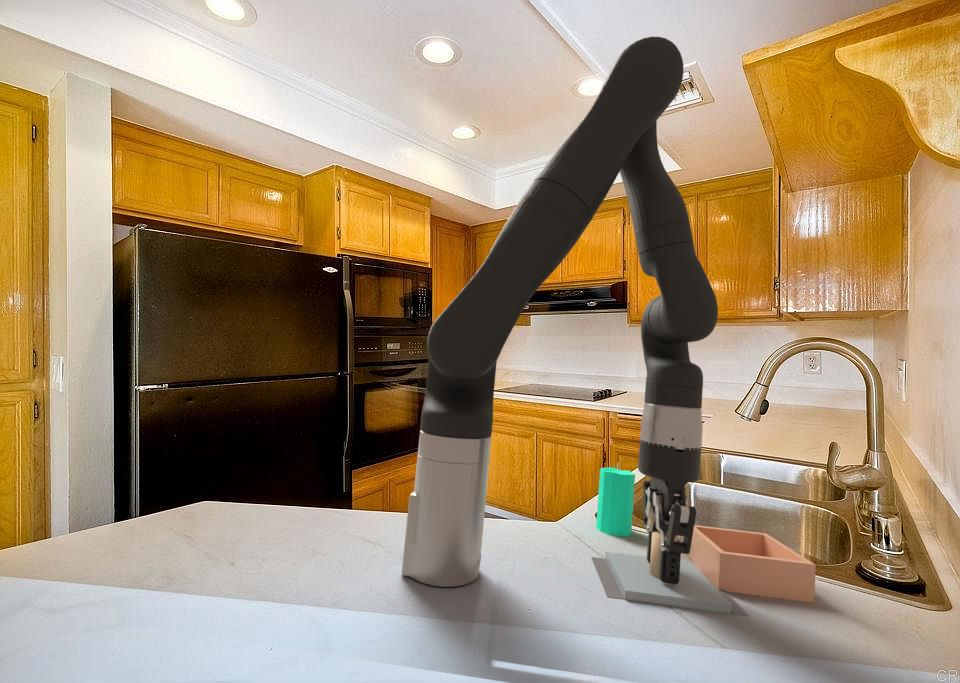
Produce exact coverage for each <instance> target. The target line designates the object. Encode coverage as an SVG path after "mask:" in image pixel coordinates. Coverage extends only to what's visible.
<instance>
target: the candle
mask: <svg viewBox="0 0 960 683" xmlns="http://www.w3.org/2000/svg"><path fill="white" fill-rule="evenodd" d="M616 466H617V468H616V467H614V466H613V467H610V466H609V467H601V468H600V471H599V483H598V497H597V512H596V522H595V523H596V525H595V528H596V529H597V530H598V531H599V532H601V533H604V534H605V535H606V534H607V535H610V536H615V537H628V536H631V535H632V529H633V527H632V526H633V512H634V499H635V497H634V496H635V486H636V485H635V484H636V483H635V482H636V481H635V480H636V474H635V473H633V472H632V471H631V470H621V469H619V462H617V465H616Z"/></svg>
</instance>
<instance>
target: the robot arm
mask: <svg viewBox="0 0 960 683" xmlns="http://www.w3.org/2000/svg"><path fill="white" fill-rule="evenodd" d="M683 78H684V61H683V57H682V53H681V51H680V50H679V48H678V47H677V45H676V44H675V43H674V42H673V41H671V40H669V39H667V38H666V37H662V36H648V37H644V38H641V39H638V40H635V42H633V43H631V44H629V45H628V46H627V47H626V48H625V49H623V50H622V51H621V53H620V54H619V55H618V57H617V58H616V59H615V61H614V63H613V65H612V66H611V68H610V71H609V72H608V74H607V76H606V78H605V80H604V81H603V83H602V85H601V87H600V91H599V94H598V95H597V97H596V99H595V100H594V102H593V104H592V105H591V107H590V109H589V110H588V112H587V113H586V114H585V116H584V117H583V119H582V120H581V121H580V122H579V124H578V125H577V126H576V127H575V128H574V130H573V131H572V132H571V133H570V134H569V135H568V137H567V138H566V139H565V140H564V141H563V142H562V143H561V145H560V146H559V147H558V148H557V150H556V151H555V153H553V155H552V156H551V157H550V159H549V160H548V161H547V162H546V164H545V165H544V166H543V168H542V169H541V171H539V173H538V174H537V175H536V177H535V178H534V179H533V181H532V182H531V184H530V186H529V187H527V189H526V191H525V192H524V194H523V195H522V196H521V199H520V200H519V201H518V202H517V204H516V206H515V207H514V210H513V211H512V213H511V214H510V216H509V217H508V218H507V220H506V222H505V224H504V225H503V227H502V229H501V230H500V232H499V234H498V236H497V238H496V239H495V241H494V243H493V245H492V247H491V248H490V251H489V253H488V255H486V258H485V259H484V260H483V263H482V264H481V266H480V267H479V268H478V269H477V271H476V272H475V274H474V275H473V276H472V277H471V279H470V280H469V281H468V282H467V284H466V285H465V286H464V287H463V288H462V289H461V290H460V292H459V293H458V294H457V295H456V296H455V298H453V300H452V301H451V302H450V303H449V304H448V306H446V307H445V309H444V310H443V311H442V312H441V313H440V314H439V315H438V317H436V319H434V321H433V322H432V324H431V326H430V329H429V332H428V334H427V341H426V346H427V353H428V367H427V377H426V386H425V393H424V394H425V395H424V399H423V404H422V410H421V417H420V426H419V428H420V430H419V438H418V448H417V458H416V459H417V460H416V466H415V468H416V470H415V479H414V488H413V489H414V490H413V491H412V492H411V493H410V495H409V497H408V507H407V508H408V509H407V514H406V515H407V517H406V518H407V519H406V527H405V534H404V535H405V538H404V547H403V554H402V555H403V556H402V557H403V558H402V566H401V576H405V577H410V578H411V579H414V580H415V581H418V582H420V583H422V584H426V585H429V586H435V587H446V588H449V587H459V586H464V585H467V584H470V583H472V582H474V581H475V580H476V579H478V578H479V575H480V566H481V561H482V547H483V546H482V545H483V544H482V543H483V537H484V536H483V534H484V525H485V524H484V523H485V513H486V512H485V510H486V500H487V491H488V481H489V480H488V477H489V466H490V458H491V447H492V446H491V444H492V434H493V424H494V395H495V394H494V393H495V385H496V384H495V383H496V372H497V362H498V359H499V358H500V355H501V353H502V350H503V348H504V346H505V344H506V342H507V340H508V338H509V336H510V334H511V333H512V330H513V329H514V326H515V325H516V323H517V322H518V319H519V318H520V316H521V314H522V312H523V311H524V309H525V308H526V306H527V304H528V302H530V300H531V298H532V297H533V295H534V294H535V293H536V292H537V291H538V289H539V288H540V287H541V286H542V285H543V284H544V282H545V281H546V280H547V279H548V278H549V277H550V276H551V275H552V273H553V272H554V271H555V270H556V269H557V268H558V267H559V265H560V264H561V263H562V262H563V261H564V259H565V258H566V257H567V256H568V254H569V253H570V252H571V250H572V249H573V247H575V246H576V244H577V243H578V241H579V239H580V238H581V236H582V235H583V233H584V232H585V230H586V229H587V227H588V226H589V225H590V223H591V222H592V220H593V218H594V216H595V214H596V213H597V211H598V209H599V208H600V206H601V205H602V203H603V202H604V200H605V198H606V197H607V195H608V194H609V193H610V192H609V191H610V190H611V188H612V187H613V185H614V183H615V181H616V179H617V178H618V176H619V174H620V177H621V181H622V184H623V188H624V191H625V195H626V199H627V201H628V202H627V203H628V207H629V211H630V212H629V213H630V216H631V221H632V226H633V232H634V233H633V234H634V238H635V244H636V248H637V255H638V259H639V263H640V267H641V270H642V272H643V273H644V275H646V276H648V277H652V278H653V277H654V278H655V281H656V283H657V286H658V288H659V291H660V294H661V295H658V296H656V297H654V298H653V299H651V300H650V301H649V302H648V303H647V305H646V306H645V308H644V310H643V313H642V317H641V322H640V323H641V324H640V336H641V344H642V351H643V352H642V353H643V357H644V364H645V368H646V377H645V379H646V380H645V388H644V389H645V390H644V391H645V392H644V404H643V411H642V416H641V422H640V434H639V435H640V436H639V437H640V438H639V448H638V449H639V450H638V451H639V452H638V464H637V465H638V467H637V470H638V471H639V472H640V473H641V474H642V475H644V476H646V477H649V478H650V480H643V483H642V486H643V488H642V489H643V490H642V491H643V492H642V495H643V496H642V504H643V505H642V507H643V508H642V514H643V515H642V522H643V524H644V525H646V528H645V530H646V533H647V534H648V535H647V549H646V557H647V561H648V562H649V563H650V556H651V541H652V532H660V537H661V553H660V569H659V578H660V579H661V581H662V582H663V583H669V584H678V583H679V576H680V561H681V559H682V558H681V557H682V556H681V555H684V554H685V555H686V554H689V553H690V548H691V542H692V536H693V530H694V525H696V524H695V523H696V516H697V509H696V507H695V506H691V505H690V506H689V505H688V504H689V503H688V497H687V495H686V492H687V491H686V485H687V484H689V483H696V482H698V481H700V478H701V463H702V449H703V448H702V446H703V430H704V429H703V426H704V425H703V415H702V411H703V410H702V408H703V407H702V406H703V405H702V403H703V390H704V389H703V388H704V373H703V370H702V369H701V367H700V366H699V365H697V364H695V363H694V362H692V361H691V358H690V350H689V343H693V342H699V341H703V340H704V339H706V338H707V337H708V336H710V335H711V334H712V333H713V331H714V330H715V328H716V326H717V322H718V316H719V308H718V307H719V306H718V301H717V296H716V294H715V292H714V289H713V287H712V284H711V283H710V280H709V279H708V277H707V274H706V271H705V269H704V268H703V265H702V263H701V262H700V260H699V259H698V256H697V254H696V249H695V244H694V238H693V231H692V226H691V222H690V217H689V212H688V209H687V205H686V203H685V200H684V198H683V196H682V194H681V192H680V191H679V189H678V187H677V186H676V184H675V183H674V181H673V180H672V179H671V177H670V175H669V174H668V172H667V170H666V168H665V166H664V164H663V161H662V159H661V156H660V151H659V146H658V133H657V132H658V131H657V130H658V129H657V126H658V125H657V123H658V122H657V121H658V120H659V118H660V117H661V116H662V115H663V114H664V112H665V111H666V110H667V109H668V107H669V106H670V105H671V104H672V103H673V101H674V100H675V99H676V97H677V95H678V93H679V91H680V89H681V86H682V82H683ZM675 537H676V539H677V542H676V541H674V539H675Z"/></svg>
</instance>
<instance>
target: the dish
mask: <svg viewBox="0 0 960 683" xmlns="http://www.w3.org/2000/svg"><path fill="white" fill-rule="evenodd" d="M685 556H686V557H687V559H688V560H689V561H690V562H692V563H693V564H694V565H695V566H696V567H697V568H698V569H699V570H700V571H701V572H702V573H703V574H704V575H705V576H706V577H707V578H708V579H709V580H710V581H711V582H712V584H713V585H714V586H715V587H716V588H717V589H718V590H723V591H726V592H727V593H729V592H730V593H736V594H746V595H752V596H760V597H766V598H775V599H782V600H791V601H799V602H805V603H813V604H814V603H815V592H816V571H817V570H816V568H817V567H816V566H817V565H816V564H815V563H814V562H812V561H811V560H809V559H808V558H806V557H804V556H803V555H801V554H799V553H797V552H796V551H795V550H793V549H791V548H790V547H788V546H787V545H785V544H783V543H782V542H781V541H778V540H777V539H776V538H774V537H772V536H771V535H769V534H768V533H765V532H758V531H757V532H755V531H748V530H740V529H739V530H738V529H730V528H723V527H714V526H705V525H696V524H694V530H693V536H692V542H691V548H690V553H689V554H685Z"/></svg>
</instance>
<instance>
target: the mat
mask: <svg viewBox="0 0 960 683" xmlns="http://www.w3.org/2000/svg"><path fill="white" fill-rule="evenodd" d="M591 559H592V562H593V565H594V568H595V570H596V573H597V575H598V577H599V580H600V583H601V584H602V587H603V590H604V593H605V594H606V597H607V598H610V599H616V600H625V601H628V600H627V599H624V597H623V595H622V593H621V590H620V588H619V586H618V584H617V582H616V580H615V578H614V576H613V574H612V572H611V570H610V567H609V565H608V563H607V561H606V559H605V558H604V557H603V558H602V557H596V556H595V557H594V556H591ZM704 576H705V575H704ZM705 577H706V576H705ZM706 578H707V577H706ZM707 579H708V578H707ZM708 580H709V579H708ZM709 581H710V580H709ZM710 582H711V581H710ZM711 583H712V582H711ZM719 592H720V593H721V594H722V595H723V596H724V597H725V598H726V599H727V600H728V601H729V602H730V603H731V604H732V608H731V613H727V614H728V615H737V616H744V617H750V615H749V614H748V613H747V612H746V610H744V609H743V608H742V607H741V606H740V605H739V604H738V602H736V600H734V598H733V597H732V596H730V594H729V592H728V591H723V590H719ZM630 601H632V602H635V601H634V600H630ZM637 602H639V603H640V602H641V603H643V602H642V601H637ZM645 603H646V604H650V603H649V602H645ZM653 604H654V605H658V604H657V603H652V605H653ZM661 605H662V606H665V605H664V604H660V606H661ZM667 606H668V607H672V606H671V605H667ZM675 607H676V608H680V607H679V606H675ZM682 608H684V609H687V608H686V607H682ZM689 609H693V610H695V609H694V608H689ZM699 610H700V611H702V610H701V609H697V611H699ZM704 611H707V612H710V611H709V610H704ZM712 612H715V613H717V612H716V611H712ZM719 613H721V614H725V613H724V612H719Z"/></svg>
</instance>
